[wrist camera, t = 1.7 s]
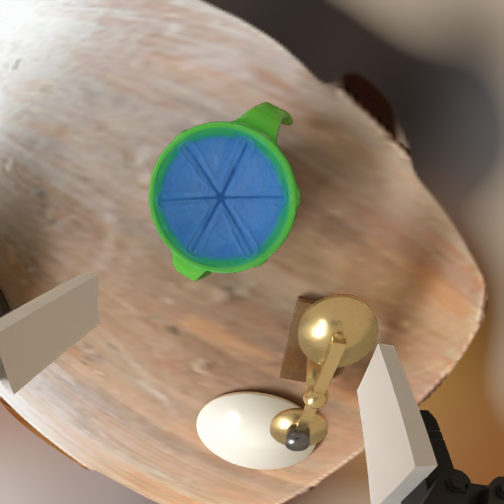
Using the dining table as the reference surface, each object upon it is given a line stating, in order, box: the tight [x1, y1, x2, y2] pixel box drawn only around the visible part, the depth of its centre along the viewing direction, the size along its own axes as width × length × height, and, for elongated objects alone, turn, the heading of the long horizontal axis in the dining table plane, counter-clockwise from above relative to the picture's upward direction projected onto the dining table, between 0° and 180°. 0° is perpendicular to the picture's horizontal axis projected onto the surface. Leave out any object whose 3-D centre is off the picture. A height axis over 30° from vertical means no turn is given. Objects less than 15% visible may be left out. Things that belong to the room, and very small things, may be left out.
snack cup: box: [149, 102, 300, 281], centre depth 25 cm, size 16×10×10 cm
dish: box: [197, 392, 316, 469], centre depth 37 cm, size 17×17×1 cm
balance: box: [270, 294, 378, 451], centre depth 27 cm, size 6×20×11 cm, turn 172°
